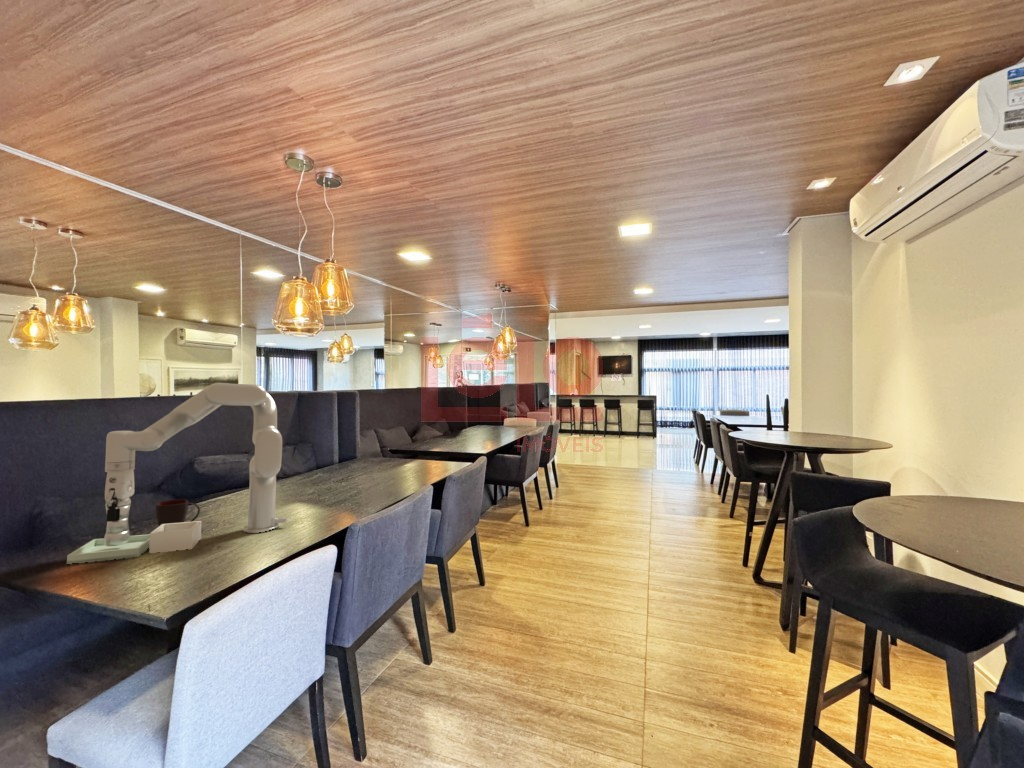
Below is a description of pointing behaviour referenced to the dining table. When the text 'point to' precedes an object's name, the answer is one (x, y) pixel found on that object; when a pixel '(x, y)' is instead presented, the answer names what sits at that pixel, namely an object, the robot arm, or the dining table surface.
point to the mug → (173, 511)
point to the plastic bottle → (118, 526)
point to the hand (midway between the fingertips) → (117, 517)
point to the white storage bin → (175, 536)
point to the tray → (109, 550)
